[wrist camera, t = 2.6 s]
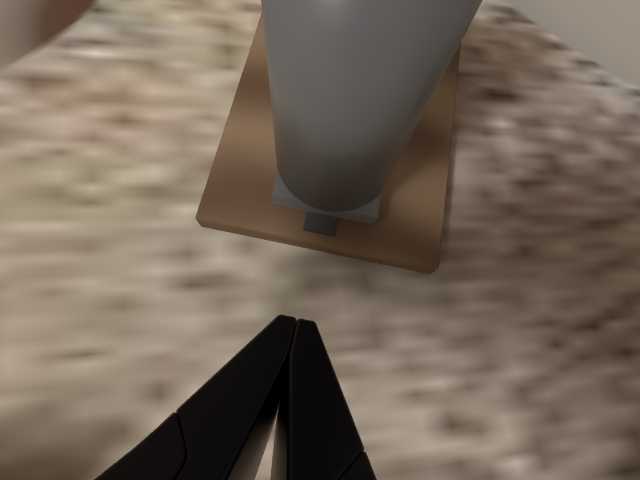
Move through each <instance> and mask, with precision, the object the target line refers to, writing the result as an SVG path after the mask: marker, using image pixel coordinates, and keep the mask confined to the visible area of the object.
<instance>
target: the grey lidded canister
mask: <svg viewBox="0 0 640 480" xmlns="http://www.w3.org/2000/svg"><path fill="white" fill-rule="evenodd" d="M261 2H262V13H263V23H264V34H265V44H266V55H267V66H268V76H269V87H270V97H271V108H272V118H273V129H274V139H275V150H276V160H277V168H278V172H277V176H276V180H275V184H274V188H273V192H272V195H271V196H272V203H273V204H275V205H280V206H284V207H289V208H294V209H299V210H304V211H309V212H313V213H318V214H323V215H328V216H333V217H338V218H343V219H347V220H352V221H357V222H362V223H367V224H372V225H373V224H374V223H375V221H376V219H377V217H378V211H379V205H380V199H381V192H382V190H383V189H384V187H385V186H386V184H387V182H388V180H389V178H390V176H391V175H392V173H393V171H394V169H395V167H396V165H397V163H398V161H399V159H400V157H401V155H402V153H403V152H404V150H405V148H406V146H407V144H408V142H409V140H410V138H411V136H412V134H413V132H414V130H415V128H416V127H417V125H418V123H419V121H420V119H421V117H422V115H423V113H424V111H425V109H426V107H427V105H428V104H429V102H430V100H431V98H432V96H433V94H434V92H435V90H436V88H437V86H438V84H439V82H440V81H441V79H442V77H443V75H444V73H445V71H446V69H447V67H448V65H449V63H450V61H451V59H452V57H453V56H454V54H455V52H456V50H457V48H458V46H459V44H460V42H461V40H462V38H463V36H464V34H465V33H466V31H467V29H468V27H469V25H470V23H471V21H472V19H473V17H474V15H475V13H476V11H477V9H478V8H479V6H480V4H481V2H482V0H261Z"/></svg>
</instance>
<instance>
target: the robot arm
mask: <svg viewBox="0 0 640 480" xmlns="http://www.w3.org/2000/svg"><path fill="white" fill-rule="evenodd" d="M279 402H280V403H279ZM278 407H279V408H278ZM277 411H278V413H277ZM276 415H277V420H276V427H275V438H274V448H273V458H272V469H271V479H270V480H377V479H376V477H375V474H374V472H373V469H372V467H371V464H370V461H369V459H368V456H367V454H366V452H363V451H364V446H363V444H362V441H361V439H360V436H359V434H358V431H357V428H356V426H355V423H354V421H353V418H352V415H351V413H350V410H349V408H348V405H347V403H346V400H345V397H344V395H343V392H342V390H341V387H340V384H339V382H338V379H337V377H336V374H335V372H334V369H333V366H332V364H331V361H330V359H329V356H328V353H327V351H326V348H325V346H324V343H323V341H322V338H321V335H320V333H319V330H318V328H317V325H316V323H315V322H314V321H310V320H305V319H298V320H296V318H295V317H290V316H285V315H278V316H277V317H276V318H275V319H274V320H273V321H272V322H271V323H270V324H269V325H267V326H266V327H265V328H264V329H263V330H262V331H261V332H260V333H259V334H258V335H257V336H256V337H254V338H253V339H252V340H251V341H250V342H249V343H248V344H247V345H246V346H245V347H244V348H243V349H242V350H240V351H239V352H238V353H237V354H236V355H235V356H234V357H233V358H232V359H231V360H230V361H229V362H228V363H226V364H225V365H224V366H223V367H222V368H221V369H220V370H219V371H218V372H217V373H216V374H215V375H214V376H212V377H211V378H210V379H209V380H208V381H207V382H206V383H205V384H204V385H203V386H202V387H201V388H200V389H198V390H197V391H196V392H195V393H194V394H193V395H192V396H191V397H190V398H189V399H188V400H187V401H186V402H184V403H183V404H182V405H181V406H180V407H179V408H178V409H177V411H176V413H175V412H174V413H172V414H171V415H170V416H169V417H168V418H167V419H166V420H165V421H164V422H163V423H162V424H161V425H159V426H158V427H157V428H156V429H155V430H154V431H153V432H152V433H150V434H149V435H148V436H147V437H146V438H145V439H144V440H142V441H141V442H140V443H139V444H138V445H137V446H136V447H135V448H133V449H132V450H131V451H130V452H128V453H127V454H126V455H125V456H123V457H122V458H121V459H120V460H118V461H117V462H116V463H114V464H113V465H112V466H111V467H109V468H108V469H107V470H106V471H104V472H103V473H102V474H101V475H99V476H98V477H97V478H95V479H94V480H254V479H255V477H256V474H257V471H258V468H259V465H260V462H261V459H262V456H263V454H264V451H265V448H266V445H267V442H268V439H269V436H270V434H271V431H272V428H273V425H274V422H275V418H276Z"/></svg>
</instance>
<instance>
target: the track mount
mask: <svg viewBox="0 0 640 480" xmlns="http://www.w3.org/2000/svg"><path fill="white" fill-rule="evenodd" d="M460 45H461V42H460V44H459V46H458V48H457V50H456V52H455V54H454V56H453V57H452V59H451V61H450V63H449V65H448V67H447V69H446V71H445V73H444V75H443V77H442V79H441V81H440V82H439V84H438V86H437V88H436V90H435V92H434V94H433V96H432V98H431V100H430V102H429V104H428V105H427V107H426V109H425V111H424V113H423V115H422V117H421V119H420V121H419V123H418V125H417V127H416V128H415V130H414V132H413V134H412V136H411V138H410V140H409V142H408V144H407V146H406V148H405V150H404V152H403V153H402V155H401V157H400V159H399V161H398V163H397V165H396V167H395V169H394V171H393V173H392V175H391V176H390V178H389V180H388V182H387V184H386V186H385V187H384V189H383V190H382V192H381V199H380V205H379V211H378V217H377V219H376V221H375V223H374V224H373V225H372V224H367V223H362V222H357V221H352V220H347V219H343V218H338V217H333V216H328V215H323V214H318V213H313V212H309V211H304V210H299V209H294V208H289V207H284V206H280V205H275V204H273V203H272V196H271V195H272V192H273V188H274V184H275V180H276V176H277V172H278V168H277V160H276V150H275V139H274V129H273V118H272V108H271V97H270V87H269V76H268V66H267V55H266V44H265V34H264V23H263V13H262V14H261V17H260V20H259V23H258V27H257V30H256V33H255V36H254V39H253V42H252V45H251V48H250V51H249V54H248V57H247V60H246V64H245V67H244V70H243V73H242V76H241V79H240V82H239V85H238V88H237V91H236V94H235V97H234V101H233V104H232V107H231V110H230V113H229V116H228V119H227V122H226V125H225V128H224V131H223V134H222V138H221V141H220V144H219V147H218V150H217V153H216V156H215V159H214V162H213V165H212V168H211V171H210V175H209V178H208V181H207V184H206V187H205V190H204V193H203V196H202V199H201V202H200V205H199V208H198V212H197V215H196V220H197V221H198V222H199V224H200V225H201V226H202V227H207V228H211V229H216V230H221V231H226V232H231V233H236V234H241V235H245V236H250V237H255V238H260V239H265V240H270V241H274V242H279V243H284V244H289V245H294V246H299V247H303V248H308V249H313V250H318V251H323V252H328V253H333V254H337V255H342V256H347V257H352V258H357V259H362V260H366V261H371V262H376V263H381V264H386V265H391V266H395V267H400V268H405V269H410V270H415V271H420V272H425V273H429V274H430V273H432V272H433V271H435V270H437V269H438V268H439V259H440V249H441V239H442V229H443V218H444V208H445V198H446V188H447V178H448V167H449V157H450V147H451V137H452V127H453V116H454V106H455V96H456V86H457V75H458V65H459V55H460Z"/></svg>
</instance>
